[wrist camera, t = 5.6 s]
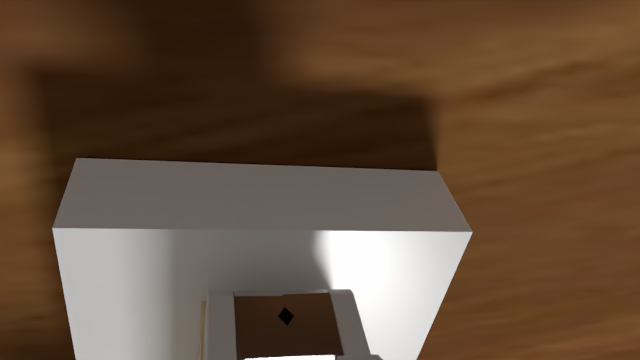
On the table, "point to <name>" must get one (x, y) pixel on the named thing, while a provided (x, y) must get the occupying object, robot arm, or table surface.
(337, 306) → the robot arm
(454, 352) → the table surface
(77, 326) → the tunnel deck
